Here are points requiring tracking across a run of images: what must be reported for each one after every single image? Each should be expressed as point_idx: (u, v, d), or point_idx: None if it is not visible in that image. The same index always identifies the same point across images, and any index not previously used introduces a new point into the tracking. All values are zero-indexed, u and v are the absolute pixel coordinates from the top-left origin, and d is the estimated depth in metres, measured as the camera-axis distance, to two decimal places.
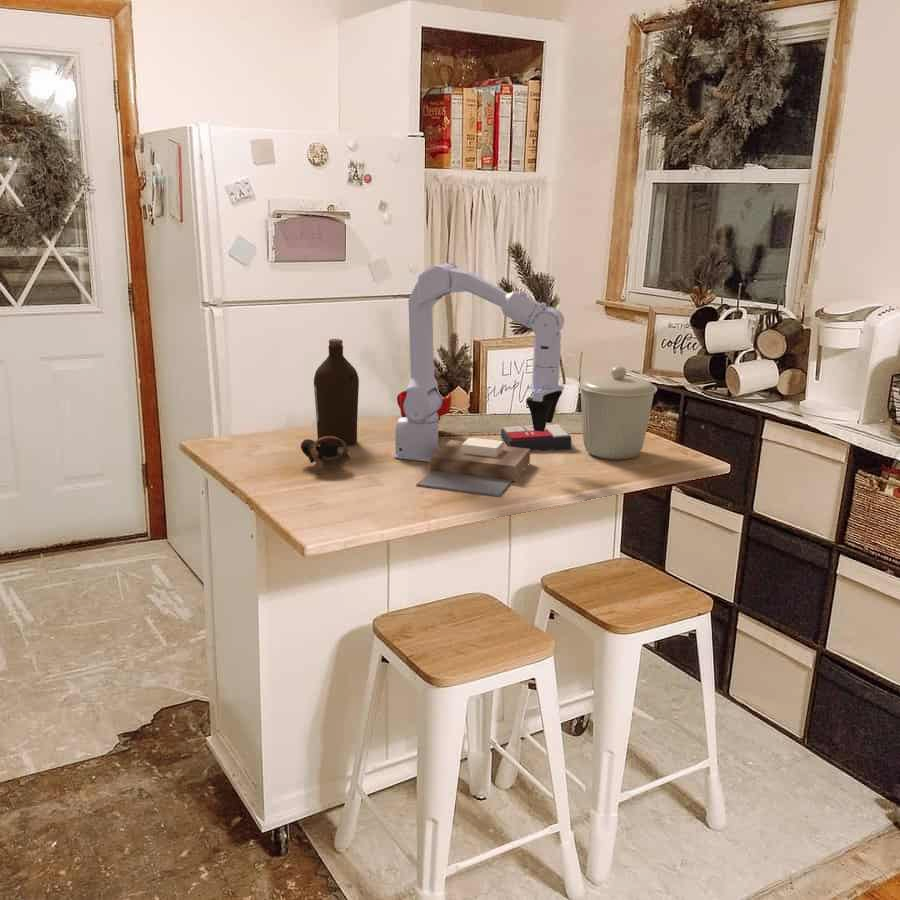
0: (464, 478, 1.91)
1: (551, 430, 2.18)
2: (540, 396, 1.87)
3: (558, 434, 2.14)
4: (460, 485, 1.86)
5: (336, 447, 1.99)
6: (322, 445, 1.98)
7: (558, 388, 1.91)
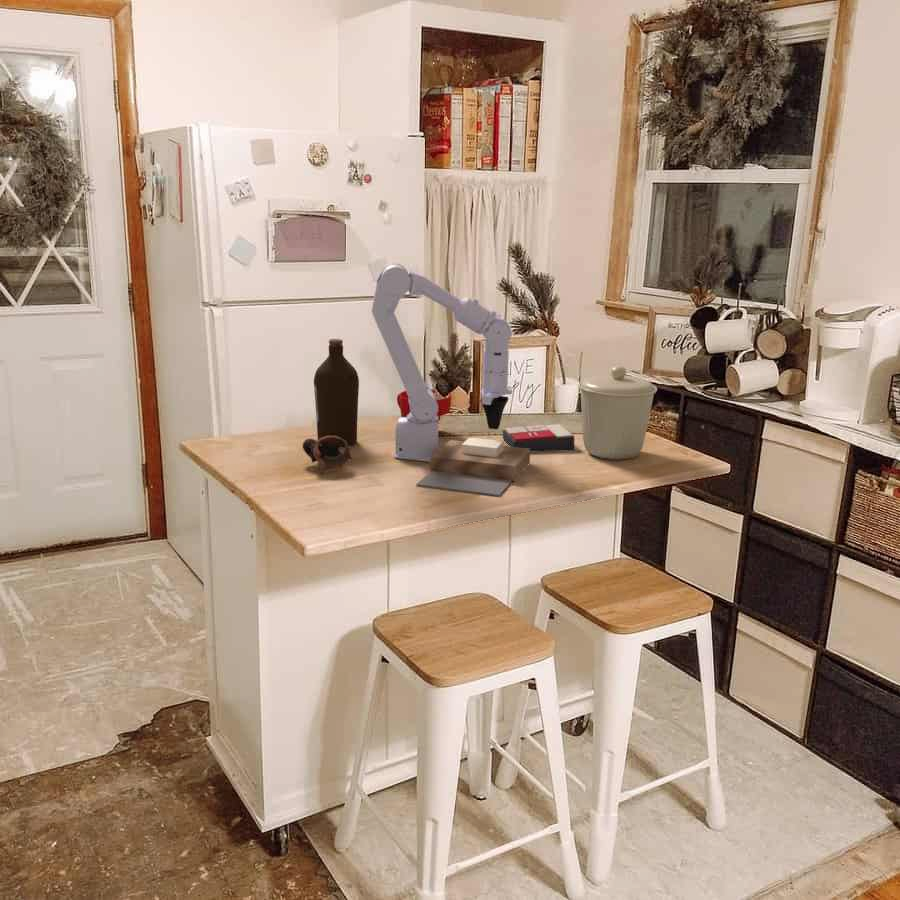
0: (464, 478, 1.91)
1: (553, 430, 2.18)
2: (488, 400, 1.97)
3: (561, 434, 2.14)
4: (460, 485, 1.86)
5: (338, 447, 2.00)
6: (324, 445, 1.99)
7: (507, 392, 2.02)
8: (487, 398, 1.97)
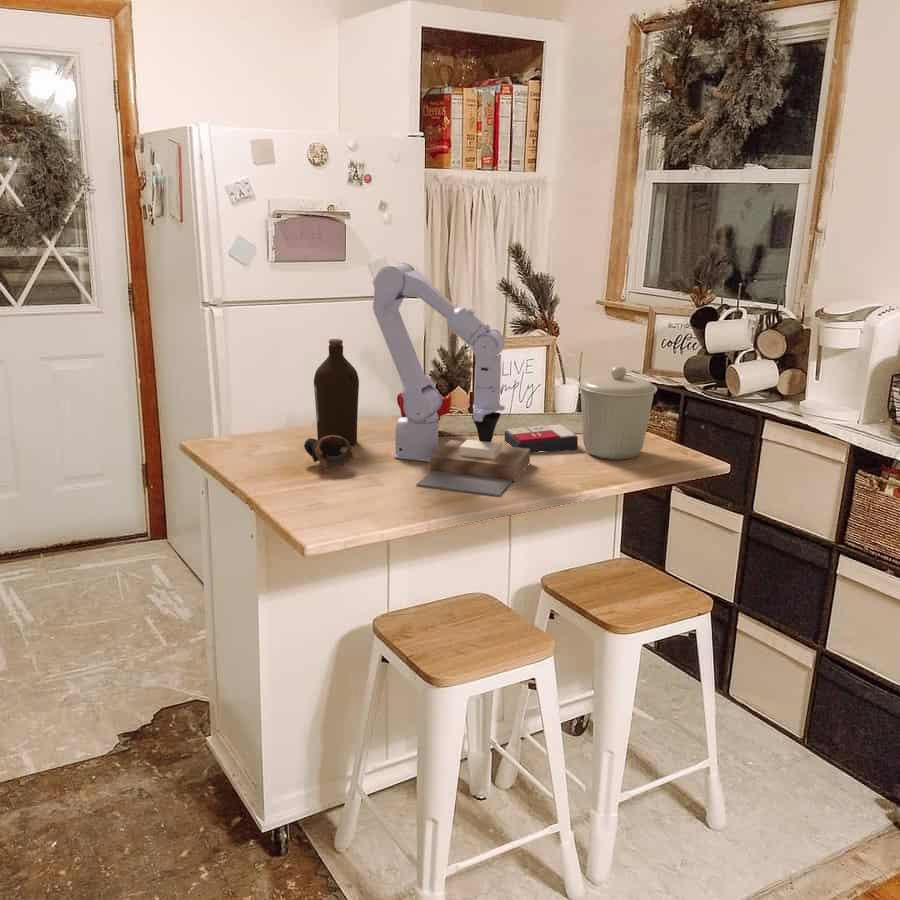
0: (464, 478, 1.91)
1: (556, 430, 2.18)
2: (480, 416, 1.92)
3: (564, 434, 2.14)
4: (460, 485, 1.86)
5: (339, 446, 2.00)
6: (325, 444, 1.99)
7: (499, 408, 1.97)
8: (479, 415, 1.92)
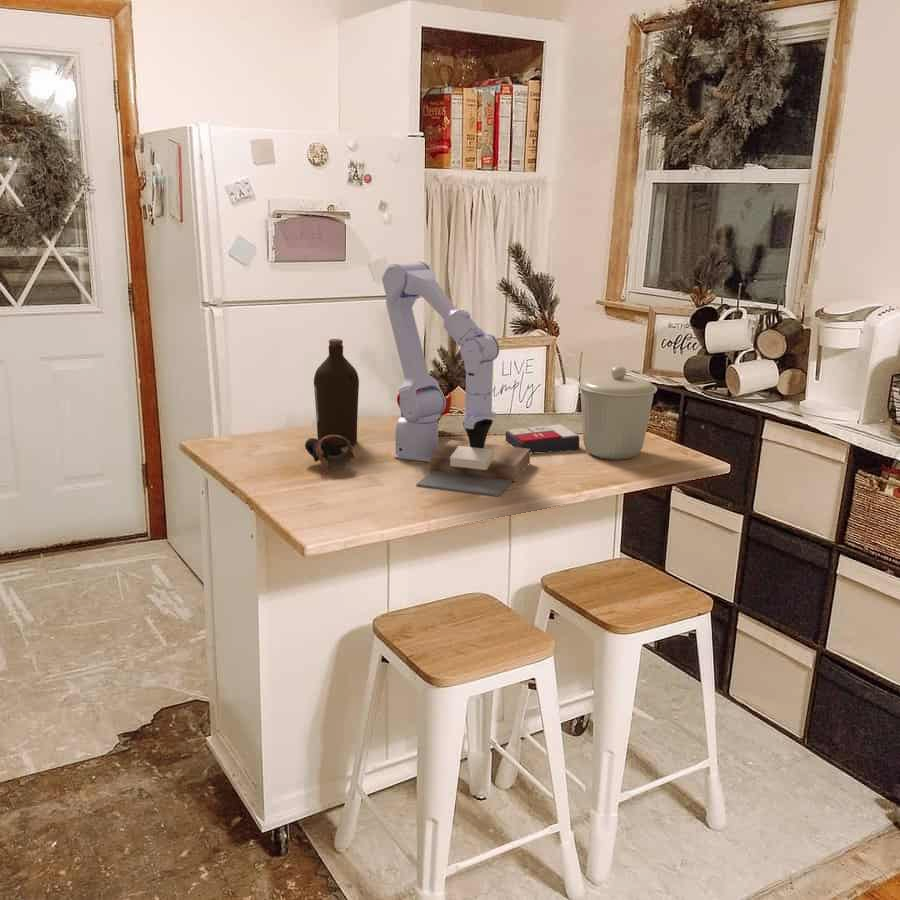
0: (464, 478, 1.91)
1: (557, 431, 2.17)
2: (471, 424, 1.86)
3: (566, 434, 2.14)
4: (460, 485, 1.86)
5: (340, 446, 2.00)
6: (326, 444, 1.99)
7: (491, 415, 1.91)
8: (470, 422, 1.86)
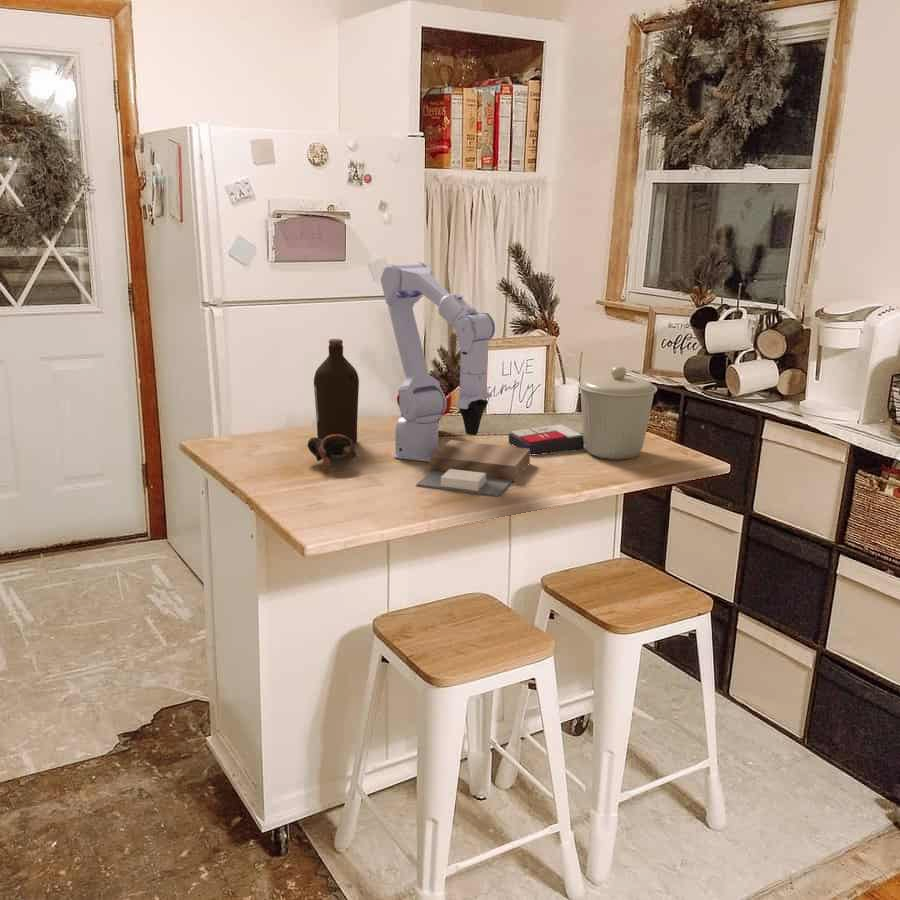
0: None
1: (560, 431, 2.17)
2: (465, 403, 1.82)
3: (571, 434, 2.14)
4: None
5: (342, 445, 2.01)
6: (329, 443, 2.00)
7: (485, 395, 1.87)
8: (463, 402, 1.82)
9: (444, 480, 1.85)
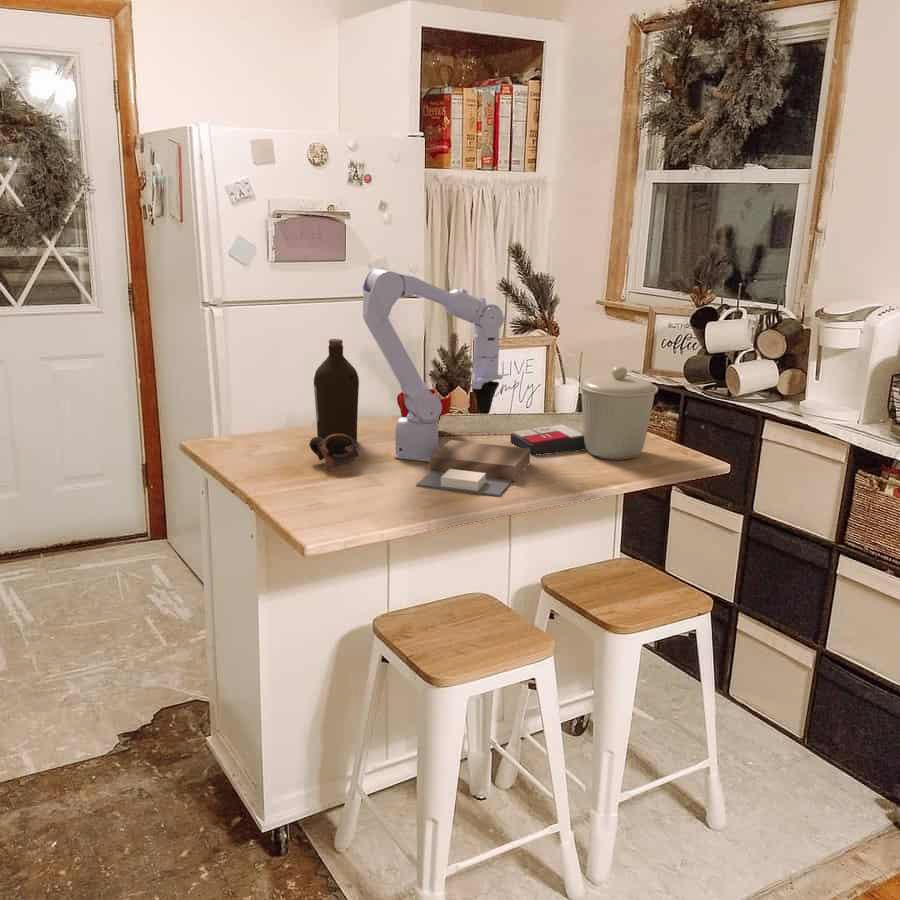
0: None
1: (562, 431, 2.17)
2: (479, 384, 2.00)
3: (573, 435, 2.14)
4: None
5: (344, 444, 2.01)
6: (330, 443, 2.00)
7: (497, 377, 2.05)
8: (477, 382, 2.00)
9: (444, 480, 1.85)
